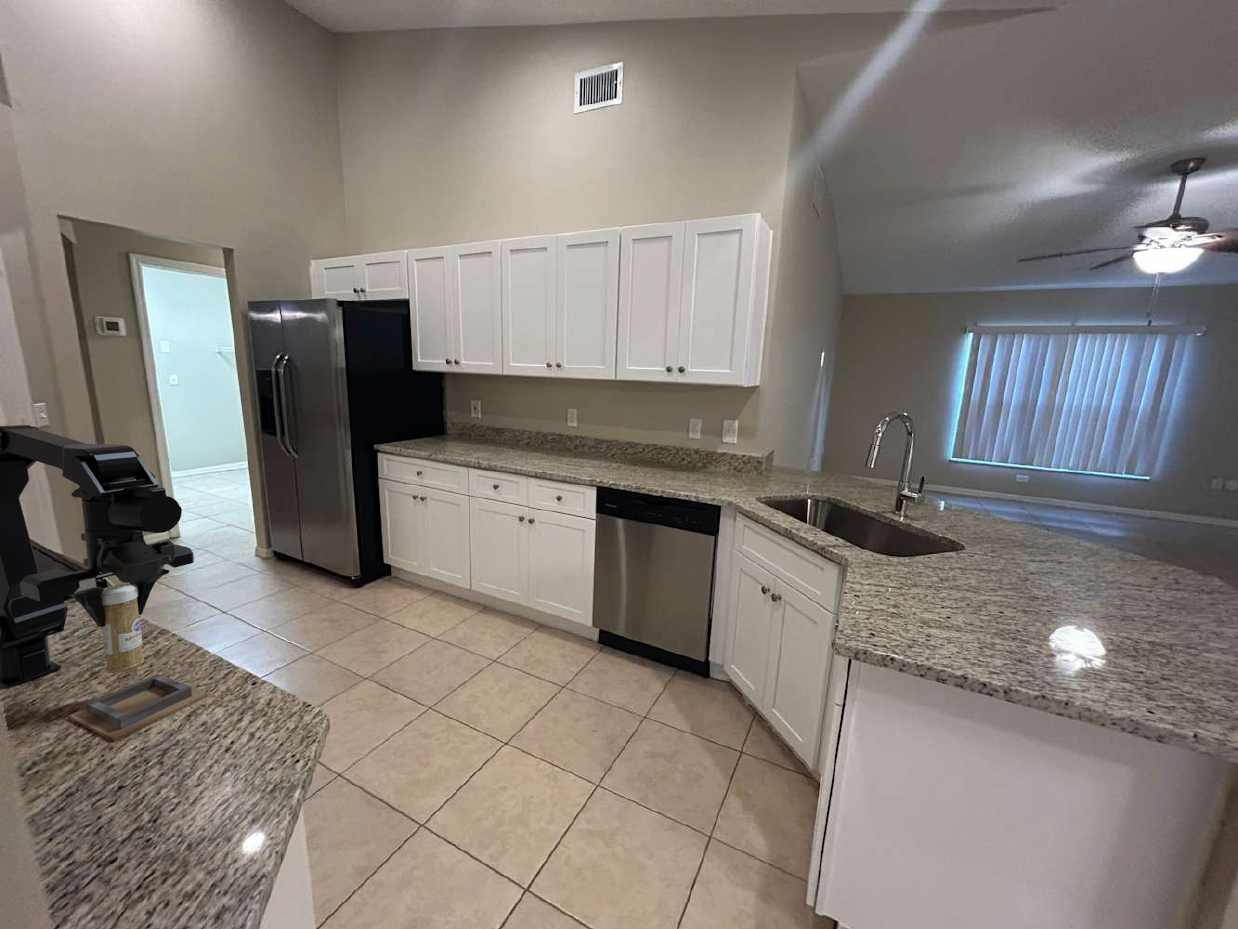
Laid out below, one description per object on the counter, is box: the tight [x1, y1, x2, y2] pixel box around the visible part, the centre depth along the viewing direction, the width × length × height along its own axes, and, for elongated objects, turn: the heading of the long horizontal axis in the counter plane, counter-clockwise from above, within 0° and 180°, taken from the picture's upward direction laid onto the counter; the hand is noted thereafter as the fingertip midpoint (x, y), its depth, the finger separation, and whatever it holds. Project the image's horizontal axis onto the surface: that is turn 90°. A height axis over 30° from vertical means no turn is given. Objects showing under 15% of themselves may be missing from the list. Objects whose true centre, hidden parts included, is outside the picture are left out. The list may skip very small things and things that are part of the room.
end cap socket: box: [68, 673, 209, 743], centre depth 79 cm, size 12×12×2 cm
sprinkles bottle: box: [101, 583, 145, 674], centre depth 79 cm, size 5×5×14 cm
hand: (120, 620), depth 79 cm, fingers closed on sprinkles bottle, 4 cm apart
